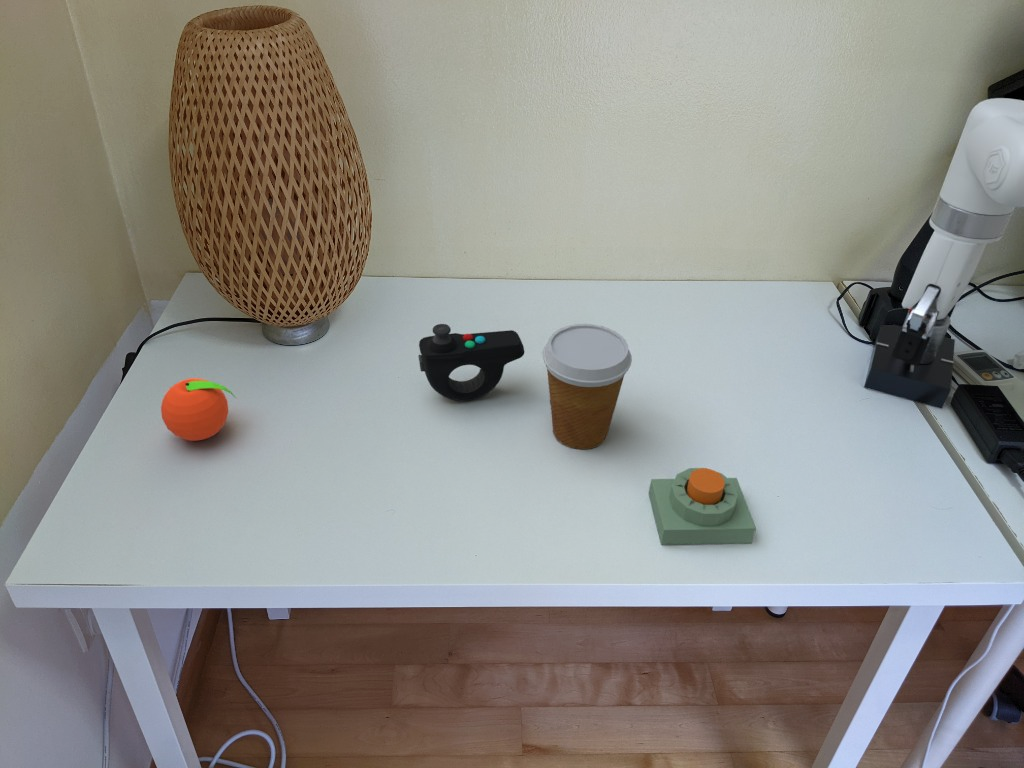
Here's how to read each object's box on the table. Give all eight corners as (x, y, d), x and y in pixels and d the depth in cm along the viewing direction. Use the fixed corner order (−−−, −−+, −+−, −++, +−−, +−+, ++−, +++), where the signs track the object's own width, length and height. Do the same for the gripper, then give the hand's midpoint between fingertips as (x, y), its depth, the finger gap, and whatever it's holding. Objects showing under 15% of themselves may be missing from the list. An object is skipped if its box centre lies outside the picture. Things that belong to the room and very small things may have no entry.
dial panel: (941, 408, 94) (951, 388, 92) (863, 387, 97) (871, 367, 95) (946, 358, 102) (955, 338, 100) (874, 340, 105) (882, 320, 103)
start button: (716, 480, 78) (720, 467, 77) (725, 505, 75) (728, 492, 74) (683, 480, 78) (686, 468, 77) (691, 505, 75) (693, 492, 74)
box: (732, 492, 82) (740, 464, 79) (751, 543, 76) (760, 515, 74) (648, 493, 81) (653, 466, 79) (661, 545, 76) (666, 517, 73)
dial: (937, 349, 98) (953, 310, 95) (932, 368, 95) (949, 328, 91) (897, 338, 100) (911, 299, 97) (891, 356, 97) (906, 317, 93)
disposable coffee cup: (522, 438, 88) (525, 351, 81) (565, 395, 94) (572, 312, 87) (595, 471, 84) (605, 383, 77) (635, 425, 90) (648, 339, 83)
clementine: (245, 409, 91) (232, 360, 87) (242, 447, 86) (229, 397, 82) (173, 417, 90) (157, 368, 86) (166, 457, 84) (148, 407, 80)
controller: (419, 389, 95) (415, 320, 89) (518, 378, 97) (520, 310, 91) (423, 411, 92) (419, 341, 86) (525, 399, 94) (528, 330, 88)
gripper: (957, 184, 93) (910, 305, 104) (909, 232, 83) (862, 361, 93) (1025, 202, 90) (970, 326, 100) (984, 254, 79) (927, 387, 89)
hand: (918, 343), depth 97 cm, fingers open, 9 cm apart
